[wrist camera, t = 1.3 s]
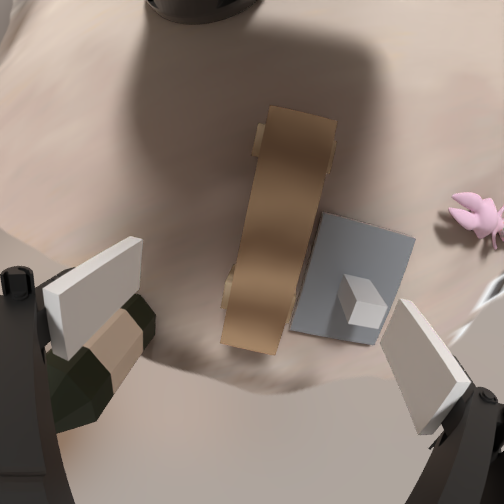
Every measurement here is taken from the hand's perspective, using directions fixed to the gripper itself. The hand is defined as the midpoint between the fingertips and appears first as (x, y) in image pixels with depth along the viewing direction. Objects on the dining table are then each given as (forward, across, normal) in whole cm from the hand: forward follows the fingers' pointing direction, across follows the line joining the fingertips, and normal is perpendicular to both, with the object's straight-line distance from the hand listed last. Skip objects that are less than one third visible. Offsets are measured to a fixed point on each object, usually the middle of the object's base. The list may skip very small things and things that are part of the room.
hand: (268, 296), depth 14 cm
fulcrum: (+18, +10, -5) cm, 22 cm away
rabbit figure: (+19, +25, +7) cm, 32 cm away
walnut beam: (+13, 0, 0) cm, 13 cm away
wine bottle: (+19, -16, -17) cm, 30 cm away
